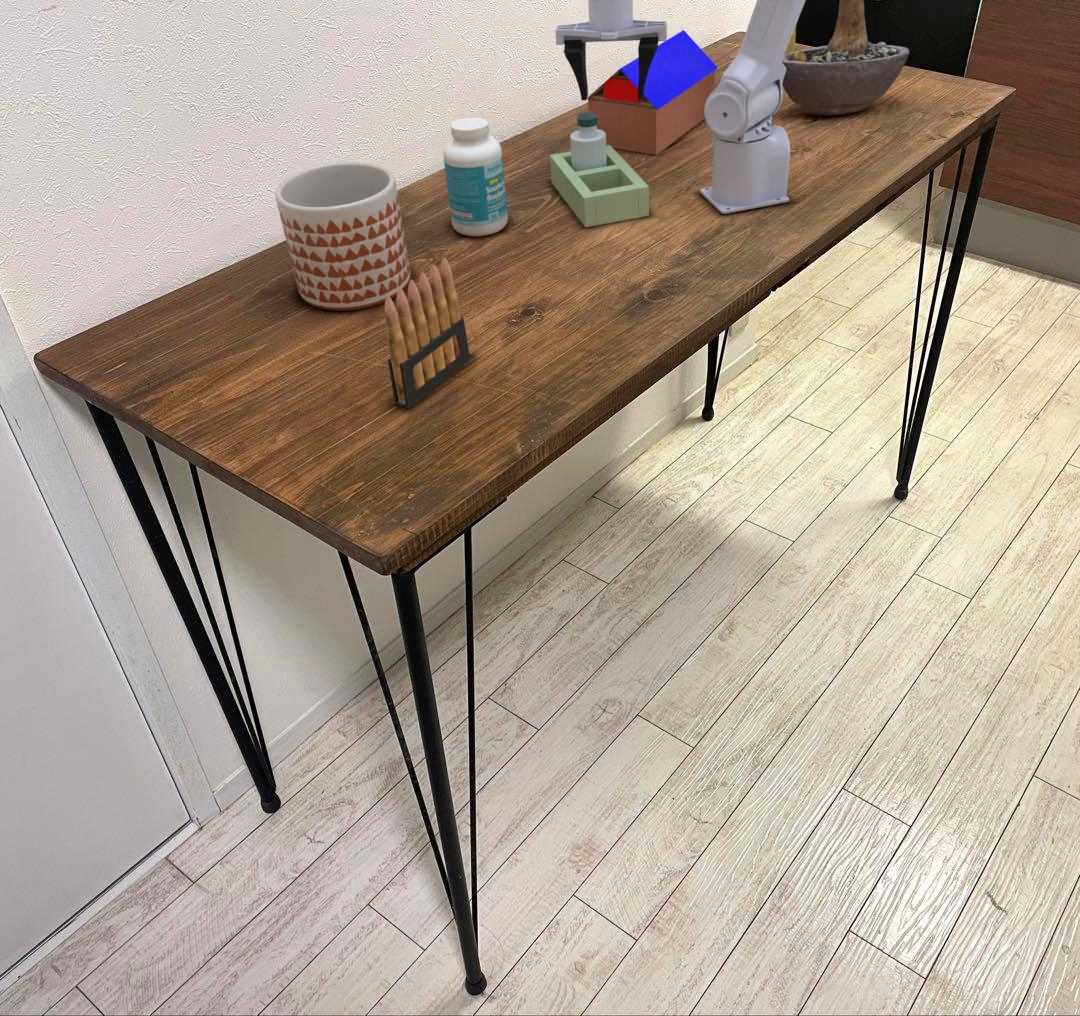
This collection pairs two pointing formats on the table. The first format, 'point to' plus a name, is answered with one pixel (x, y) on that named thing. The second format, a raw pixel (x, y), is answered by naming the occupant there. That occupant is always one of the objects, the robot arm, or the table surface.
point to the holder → (601, 189)
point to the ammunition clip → (425, 336)
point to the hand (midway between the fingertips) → (612, 97)
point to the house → (655, 98)
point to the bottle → (588, 144)
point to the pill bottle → (475, 179)
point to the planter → (843, 68)
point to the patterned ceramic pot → (344, 234)
